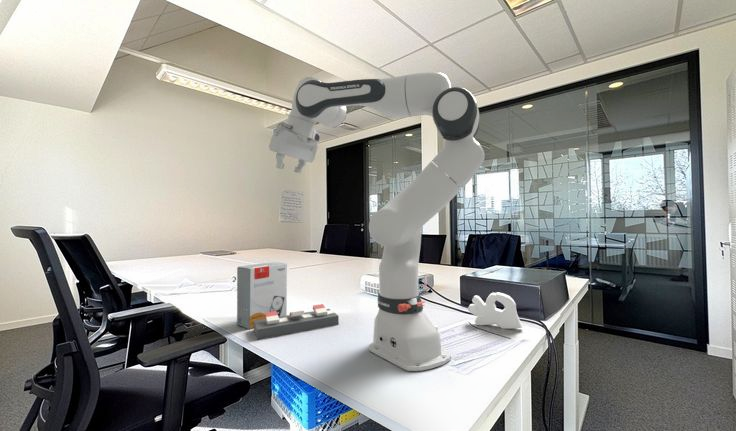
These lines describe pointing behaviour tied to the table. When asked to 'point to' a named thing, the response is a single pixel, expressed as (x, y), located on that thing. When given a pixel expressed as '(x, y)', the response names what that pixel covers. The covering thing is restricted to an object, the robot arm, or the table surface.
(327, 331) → the table surface
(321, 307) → the rocker
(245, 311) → the hard drive box
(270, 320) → the rocker
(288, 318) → the power strip
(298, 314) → the rocker
